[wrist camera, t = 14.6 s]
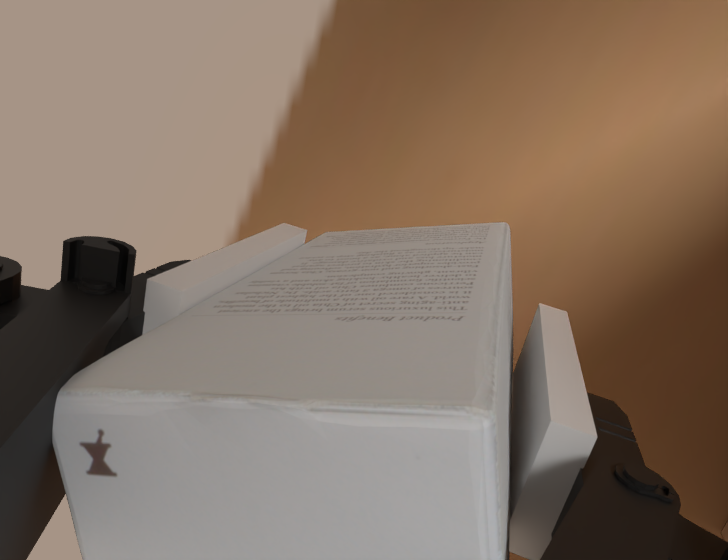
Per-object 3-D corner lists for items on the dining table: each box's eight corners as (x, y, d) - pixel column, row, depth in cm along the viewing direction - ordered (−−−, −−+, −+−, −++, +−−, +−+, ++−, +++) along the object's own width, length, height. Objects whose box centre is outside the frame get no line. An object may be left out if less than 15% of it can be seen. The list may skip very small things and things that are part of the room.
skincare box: (339, 350, 20) (91, 648, 8) (324, 229, 18) (21, 385, 7) (520, 351, 18) (510, 730, 7) (515, 218, 17) (496, 400, 6)
